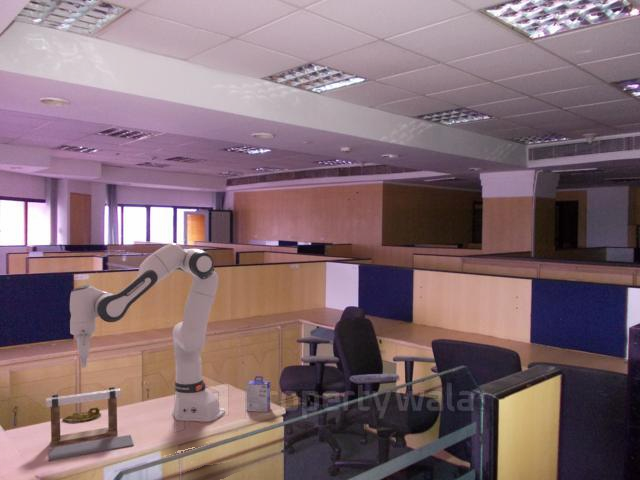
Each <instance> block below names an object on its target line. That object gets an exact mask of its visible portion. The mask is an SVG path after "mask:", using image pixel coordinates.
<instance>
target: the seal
mask: <svg viewBox="0 0 640 480" xmlns="http://www.w3.org/2000/svg"><path fill="white" fill-rule="evenodd" d="M101 417H102V413H101V412H100V408H99V407H97V406H96V407H91V408H89V409H88V411H85V412H80V413H79V412H77V413H76V412H75V413H74V412H73V413H72V414H71V415H68V416H64V417H63V418H62V420H61V421H62V422H65V423H67V424H78V423H86V422H90V421H94V420H97V419H99V418H101Z"/></svg>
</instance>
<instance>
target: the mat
mask: <svg viewBox="0 0 640 480" xmlns="http://www.w3.org/2000/svg"><path fill="white" fill-rule="evenodd" d="M129 447H134V441H133V438H132V434H126V435H122V436H114V437H108V438H104V439H103V438H102V439H99V440H98V439H96V440H93V441H92V440H90V441H88V442H87V441H85V442H81V443H80V442H79V443H75V444H74V443H73V444H69V445H68V444H67V445H64V446H56V447H51V448H49V452H48V462H54V461H58V460H63V459H64V460H65V459H68V458H75V457H79V456H80V457H81V456H87V455H90V454H96V453H101V452H107V451H112V450H118V449H119V450H120V449H123V448H124V449H125V448H129Z"/></svg>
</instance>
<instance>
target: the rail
mask: <svg viewBox="0 0 640 480" xmlns="http://www.w3.org/2000/svg"><path fill="white" fill-rule="evenodd" d="M114 390H115V395H116V397H117V398H121V397H122V394H121V393H122V392H121V388H119V387H118V388H114V389H111V390H109V389H105V390H99V391H90V392H84V393H76V394H69V395H68V394H67V395H60V396H58V397H47V398H45V408H51V407H52V399H56V398H58V406H59V405H60V406H66V405H72V404H79V403H86V402H93V401H100V400H101V401H102V400H108V399H109V398H110V391H114Z"/></svg>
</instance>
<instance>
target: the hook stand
mask: <svg viewBox="0 0 640 480" xmlns="http://www.w3.org/2000/svg"><path fill="white" fill-rule="evenodd" d="M111 389H115V386H109V387H108V390H111ZM51 396H52V397H59V394H57V393H56V394H52V395H51ZM52 397H51V398H52ZM117 398H118V397H116V395H115V390H114V391H110V398H109V399H107V413H108V414H107V417H108V419H107V421H108V422H107V423H108V427H103V428H97V429H91V430H85V431H77V432H72V433H67V434H61V405H59V406H58V398H56V399H52V407H50V434H51V437H50V438H51V440H50V441H51V442H50V443H51V445H50V447H51V448H53V447H59V446H62V445H64V446H65V445H68V444H69V445H71V444H74V443H75V444H76V443H80V442H81V443H82V442H87V441H92V440H93V441H94V440H98V439H99V440H100V439H103V438H104V439H106V438H111V437H117V436H119V433H118V412H117V411H118V406H117V404H118V402H117V400H118V399H117Z"/></svg>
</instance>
